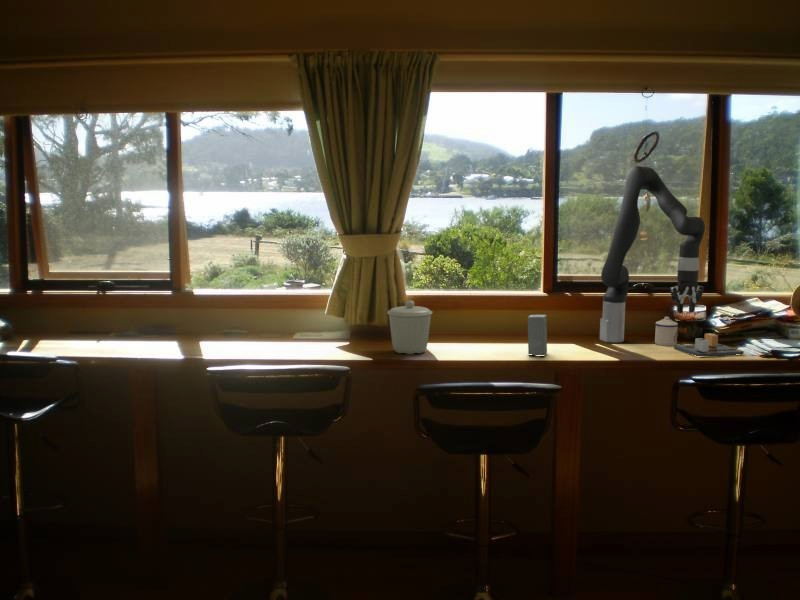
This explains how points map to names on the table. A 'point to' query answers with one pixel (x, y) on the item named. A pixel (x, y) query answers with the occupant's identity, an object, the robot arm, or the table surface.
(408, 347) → the canister
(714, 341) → the fader orange
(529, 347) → the skincare box
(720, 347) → the console
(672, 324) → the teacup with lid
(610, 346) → the table surface
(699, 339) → the fader silver
